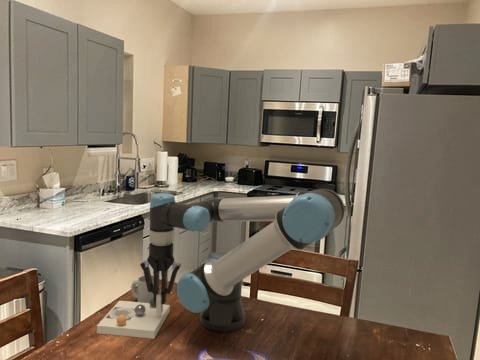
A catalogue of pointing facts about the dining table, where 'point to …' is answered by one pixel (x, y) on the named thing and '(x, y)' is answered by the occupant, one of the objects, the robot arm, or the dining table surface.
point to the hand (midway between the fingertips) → (159, 312)
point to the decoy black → (152, 303)
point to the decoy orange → (121, 319)
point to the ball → (140, 310)
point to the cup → (142, 290)
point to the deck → (133, 320)
